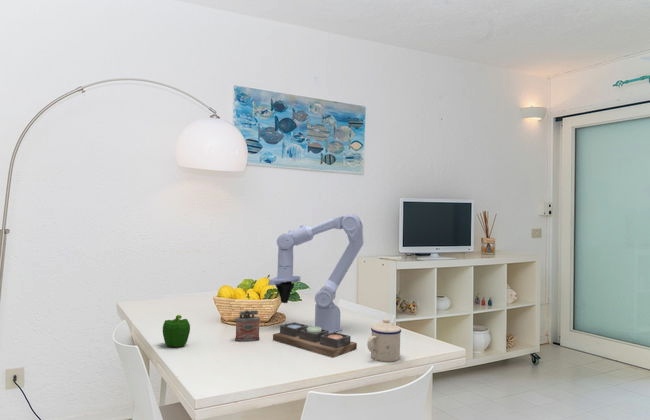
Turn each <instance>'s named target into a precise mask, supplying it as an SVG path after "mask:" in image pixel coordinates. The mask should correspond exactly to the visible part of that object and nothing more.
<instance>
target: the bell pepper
mask: <svg viewBox="0 0 650 420" xmlns="http://www.w3.org/2000/svg"><path fill="white" fill-rule="evenodd" d="M182 317H183V316H182V315H181V314H177V315H176V316H175V318H174V319H166V320H164V322H163V325H162V336H163V341H164V344H165V345H166V346H167V347H175V348H179V347H184V346H185V345H186V344H187V343H188V340H189V337H190V336H189V335H190V333H191V332H190V331H191V324H190V322H189V320H188V319H187V318H182Z"/></svg>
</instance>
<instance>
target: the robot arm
mask: <svg viewBox="0 0 650 420" xmlns="http://www.w3.org/2000/svg"><path fill="white" fill-rule="evenodd" d="M363 226H364V225H363V223H362V220H361V218H360V217H359V216H358V215H357V214H353V213H352V214H350V213H349V214H346V215H344V216H343V215H342V216H337V217H333V218H331V219H328V220H325V221H323V222H321V223H318V224H316V225H314V226H309V225H304V224H302V225H300V226H299V227H298V228H296V229H293V230H291V229H290V230H288V231H287V233H285V232H284V233H281V234H280V235H279V236H278V237H277V239H276V245H277V247H278V249H277V250H278V251H277V252H278V253H277V272H276V273H277V276H276V277H274V278H270V279H268V286H269V285H270V286H275V288H276V289H277V292H278V294H279V297H280V302H281V303H282V304H288V302H289V299H290V295H291V292H292V290H293V288H295V282H298V283H299V282H301V276H300V275H294V246H296V247H297V246H299V245H302V244H304V243H308V242H310V241H312V240H313V239H314V237H315V235H319V234H320V233H324V232H328V231H329V230H333V229H336V230H343V231H344V232H345V234H346V236H347V239H348V244H347V247H346V248H345V250H344V252H343V254H342V255H341V257H340V258H339V260H338V261H337V263H336V265H335V267H334V269H333V270H332V272H331V274H330V276H329V277H328V279H327V280H326V283H324V285H323V286H322V287H321V288H320V289H319V290H318V291H317V292H316V294H315V296H314V302H315V305H314V307H315V309H314V326H317V327H321V329H324V330H328V331H329V333H332V332H336V333H337V332H338V331H342V330H343V328H341V309H340V307H339V306H337V305H336V304H335V302H334V300H335V299H336V292H337V290H338V288H339V286H340V284H341V282H342V281H343V279H344V278H345V276H346V274H347V272H348V271H349V270H350V267H351V266H352V264H353V263H354V262H355V261H354V260H355V259H356V257H357V256H358V254H359V252H360V250H361V249H362V247H363V245H364V242H365V241H364V227H363Z"/></svg>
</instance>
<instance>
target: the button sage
mask: <svg viewBox="0 0 650 420" xmlns="http://www.w3.org/2000/svg"><path fill="white" fill-rule="evenodd" d="M307 332H310V333H314V334H316V333H320V332H321V327H317V326H315V325H314V326H313V325H312V326H308V327H307Z"/></svg>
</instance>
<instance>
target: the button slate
mask: <svg viewBox="0 0 650 420" xmlns="http://www.w3.org/2000/svg"><path fill="white" fill-rule="evenodd" d="M287 327H290V328H294V329H295V328H299V327H301V326H300V325H288V326H287Z"/></svg>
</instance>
